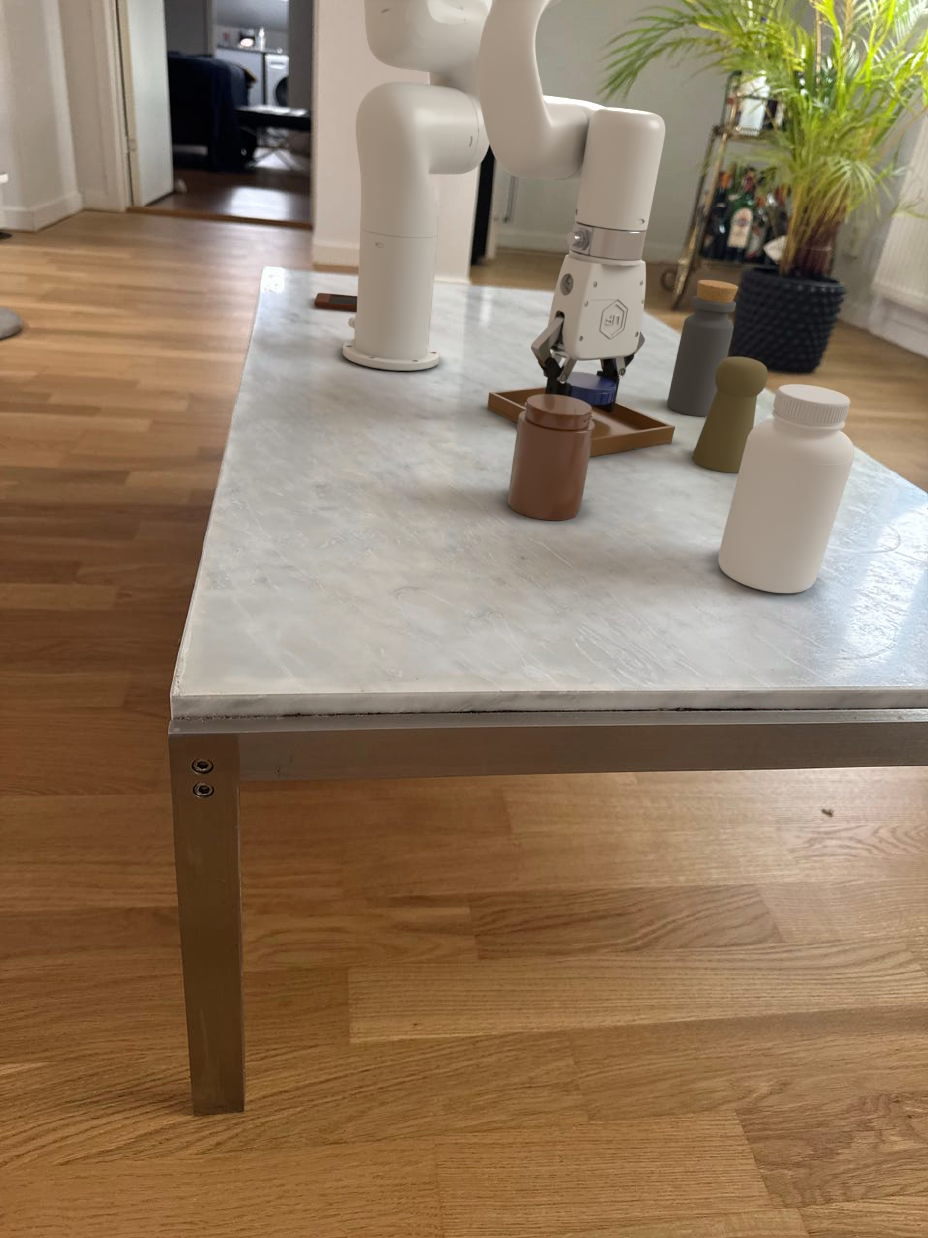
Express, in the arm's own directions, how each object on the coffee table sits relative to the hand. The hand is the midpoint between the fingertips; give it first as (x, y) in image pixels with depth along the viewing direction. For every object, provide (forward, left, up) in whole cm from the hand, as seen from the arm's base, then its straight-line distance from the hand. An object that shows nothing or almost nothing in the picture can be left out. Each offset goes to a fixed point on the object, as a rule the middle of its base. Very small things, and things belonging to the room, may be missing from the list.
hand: (578, 410), depth 106 cm
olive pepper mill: (+15, +7, -2) cm, 17 cm away
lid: (0, 0, +3) cm, 3 cm away
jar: (+17, -19, -2) cm, 26 cm away
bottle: (0, +19, -2) cm, 19 cm away
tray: (0, 0, -2) cm, 2 cm away
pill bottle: (+35, -11, -2) cm, 37 cm away
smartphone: (-57, +6, -2) cm, 57 cm away
